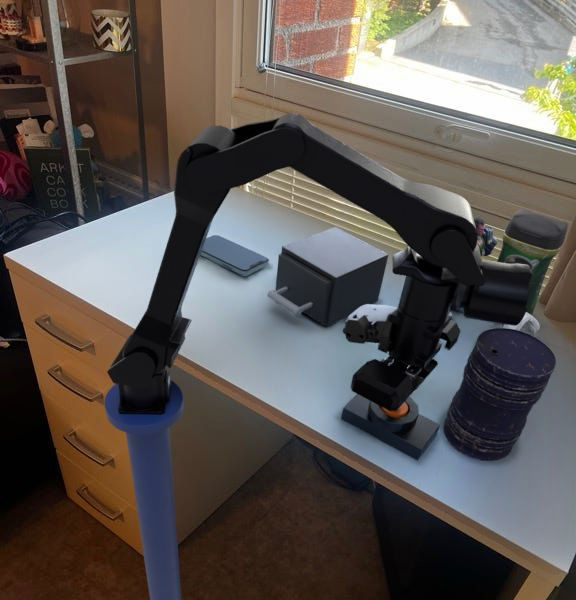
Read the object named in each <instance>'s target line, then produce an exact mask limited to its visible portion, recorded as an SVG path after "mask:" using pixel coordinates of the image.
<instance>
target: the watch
mask: <svg viewBox="0 0 576 600" xmlns="http://www.w3.org/2000/svg"><path fill="white" fill-rule="evenodd" d="M540 327H541V325H540V323H539V321H538V319H537V318H535V316H533V314H532V315H530V314H529V313H527V312H526V313H525V316H524V317H523V319H522V321H521V322H520V323H519V324H518V325H516V326H513V325H507V324H503V326H502V328H508V329H514V330H518V331H522V332H524V333H527V334H529V335H532V336H535V335H536V334H537V332H539V330H540V329H541V328H540Z"/></svg>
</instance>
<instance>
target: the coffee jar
mask: <svg viewBox="0 0 576 600" xmlns="http://www.w3.org/2000/svg"><path fill="white" fill-rule="evenodd" d="M568 226H569V224H568V222H567V221H563V220H559V219H555V218H552V217H549V216H547V215H543V214H539V213H536V212H534V211H530V210H527V209H525V208H520V209H518V210H517V211H516V212H515V213H514V214H513V215H512V216H511V218H510V220H509V221H508V224H507V225H506V227H505V229H504V230H503V234H502V247H501V249H500V253H499V255H498V258H497V259H496V262H501V263H507V264H525V265H529V267H530V269H531V272H532V274H533V276H532V278H531V280H530V283H529V296H528V301H527V305H526V306H527V311H526V312H527V313H529V314H530V315H532V316H533V314H534V312H535V309H536V306H537V303H538V300H539V298H540V297H539V296H540V294H541V293H540V292H541V290H542V287H543V284H544V280H545V277H546V275H547V273H548V270H549V267H550V265H551V262H552V261H553V259H554V257H556V256H557V255H558V254H559V253H560V251H561V250H562V248H563V246H564V243H565V239H566V235H567V231H568Z"/></svg>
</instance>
